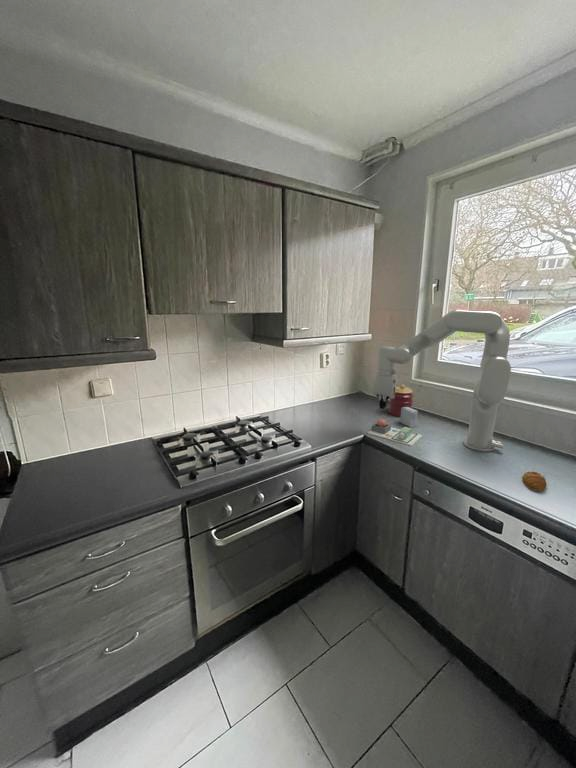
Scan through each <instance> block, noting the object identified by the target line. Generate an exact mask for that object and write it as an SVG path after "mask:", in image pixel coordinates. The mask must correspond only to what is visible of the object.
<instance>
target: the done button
mask: <svg viewBox="0 0 576 768" xmlns="http://www.w3.org/2000/svg"><path fill="white" fill-rule="evenodd" d="M376 423H377V426H379V427H383V428H385V427H386V424H387V420H386V419H383V418H379V419H377V421H376Z"/></svg>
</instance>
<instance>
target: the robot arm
mask: <svg viewBox="0 0 576 768" xmlns="http://www.w3.org/2000/svg"><path fill="white" fill-rule="evenodd" d="M456 332H459V333H461V332H462V333H469V334H470V333H472V334H484V336H485V337H484V339H485V341H484V348H483V352H482V356H481V361H480V369H481V372H482V373H481V378H480V379H478V380H477V381H476V382H475V384H474V387H473V392H472V393H473V395H472V396H473V397H472V405H471V412H470V418H469V424H468V425H469V426H468V431H467V437H466V438H464V439H463V440H462V444H463V445H464V446H465V447H467V448H468V449H471V450H473V451H479V452H483V453H484V452H485V453H486V452H487V453H489V452H493V451H494V450H496V449H495V448H498V449H504V444H503V443H502V442H501V441H496V440H495V436H494V432H495V431H494V430H495V423H496V420H497V414H498V407H499V404H500V403H502V402H503V401H504V399H505V397H506V394H507V391H508V386H509V381H510V377H511V372H512V366H511V364H510V363H511V362H510V361H509V360H508V359H507V357H508V352H509V347H510V339H511V336H510V329H509V327H508V324H507V323H506V322H505V320H504V319H503V318H502V316H501V315H500V314H499V313H498V312H495V311H492V310H491V311H490V310H485V311H477V310H473V311H472V310H464V309H463V310H462V309H453V310H451V311H449V312H448V313H446V314H445V315H443V316H442V317H440V318H439V319H438V320H436V321H434V323H432V324H431V325H429V326H428V327H426V328H425V329H423V330H422V331H421V332H419V333H418V334H417V335H415V336H414V337H412V338H411V339H409V340H408V341H407V342H405V343H404V344H403V345H401V346H399V347H398V348H396V347H394V346H391V345H389V346H387V345H386V346H383V345H382V346H380V347H379V349H378V361H377V369H376V370H377V373H375V377H374V381H373V385H372V386H373V387H372V391H373V392H372V395H373V396H375V397H377V399H378V401H379V402H378V403H379V404H378V406H379V409H382V410H384V409H386V408H387V404H388V403H387V401H389V400H390V399H393V398H395V397H394V394H395V393H396V387H397V381H396V375H397V371H396V370H395V363H396V364H399V365H407V364H408V363H410V362H411V361H412V359H413V357H414V356H416V355H417V354H420V353H422V351H424V350H426V349H428V348H430V347H434V346H436V345H438V344H440V343H441V342H442V341H444V340H445V339H447V338H448V337H450V336H452V335H453V334H454V333H456ZM493 436H494V437H493Z"/></svg>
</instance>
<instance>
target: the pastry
mask: <svg viewBox="0 0 576 768" xmlns="http://www.w3.org/2000/svg"><path fill="white" fill-rule="evenodd" d="M521 479H522V482H523V484H524V485H525V486H526V488H528V489H529V490H531V491H536V492H540V493H542V492H544V491H545V490H546V489H547V488H546V487H547V481H546V478H545V477H544V476H542V475H541V474H540V473H539V472H538V471H526V472H524V473H523V474H522V477H521Z"/></svg>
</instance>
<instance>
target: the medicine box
mask: <svg viewBox="0 0 576 768" xmlns="http://www.w3.org/2000/svg"><path fill="white" fill-rule="evenodd" d="M418 413H419V411H418V410H417V409H414V408H413V407H412V408H409V407H403V408H401V417H400V421H399V422H400V424H403V425H405V426H406V427H408V428H414V427H417V425H418Z"/></svg>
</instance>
